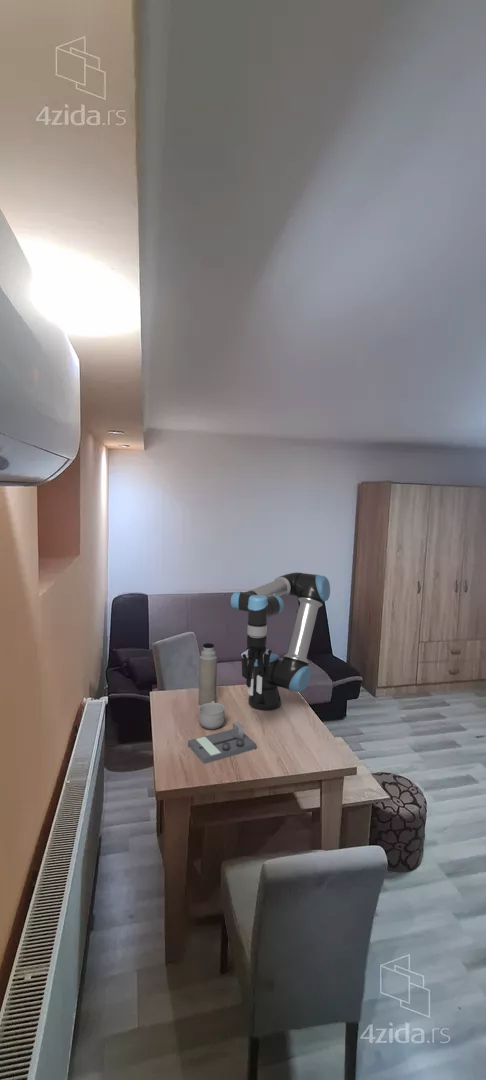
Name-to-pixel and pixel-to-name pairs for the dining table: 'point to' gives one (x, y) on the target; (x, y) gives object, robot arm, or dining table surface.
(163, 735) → the dining table surface
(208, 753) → the console
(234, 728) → the fader cap
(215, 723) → the teacup
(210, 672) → the thermos bottle
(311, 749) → the dining table surface
